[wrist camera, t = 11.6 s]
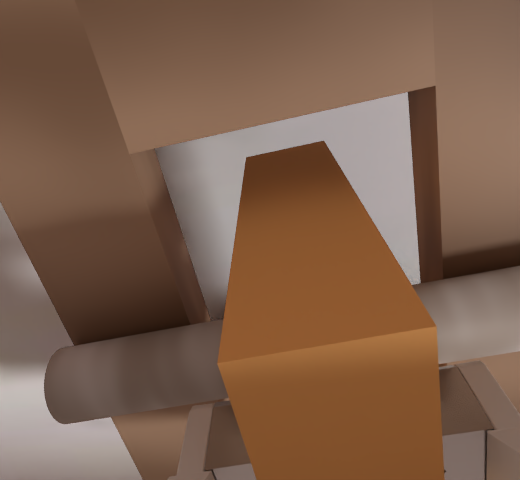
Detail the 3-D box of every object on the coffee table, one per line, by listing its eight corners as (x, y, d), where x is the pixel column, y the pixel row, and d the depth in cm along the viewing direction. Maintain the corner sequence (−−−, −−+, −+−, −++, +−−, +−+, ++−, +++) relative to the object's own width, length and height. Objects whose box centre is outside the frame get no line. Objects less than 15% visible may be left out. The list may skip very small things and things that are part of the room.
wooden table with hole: (432, 325, 27) (586, 586, 14) (217, 362, 28) (179, 630, 15) (408, -102, 17) (801, -480, 5) (88, -17, 19) (-274, -132, 6)
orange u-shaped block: (246, 157, 16) (217, 363, 6) (323, 140, 16) (436, 326, 6) (280, 303, 19) (301, 614, 9) (347, 291, 19) (450, 598, 8)
